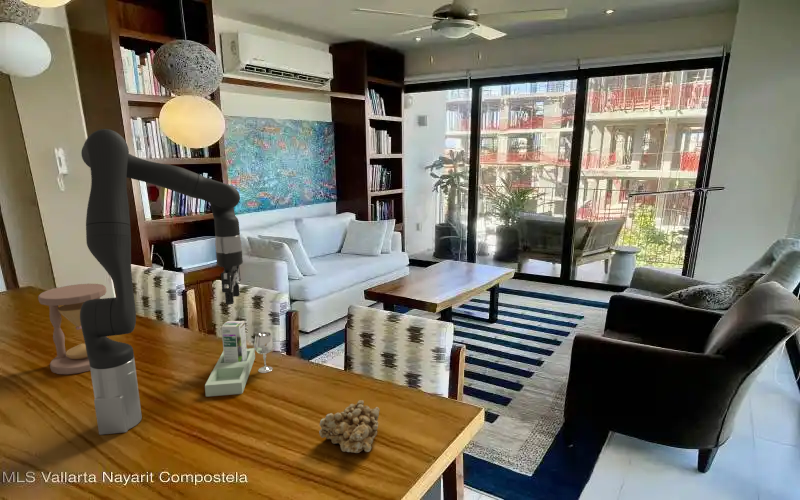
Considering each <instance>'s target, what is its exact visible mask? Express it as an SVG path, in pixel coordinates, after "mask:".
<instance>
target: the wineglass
mask: <svg viewBox="0 0 800 500" xmlns="http://www.w3.org/2000/svg"><path fill="white" fill-rule="evenodd" d="M253 345H254V346H253V348H255V353H256V352H257V354H259V355H262V358H263V362H264V365H263V366H262V367H259V369H258V372H259V373H262V374H266V373H270V372H271V371H273V369H274V368H273V367H272V366H268V365H267V360H266V359H267V354H269V353H270V352H272V351H273V348H274V338H273V336H272V334H271V332H269V331H261V332H258V333H256V334H255V337H254V344H253Z"/></svg>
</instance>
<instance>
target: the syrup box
mask: <svg viewBox="0 0 800 500" xmlns="http://www.w3.org/2000/svg"><path fill="white" fill-rule="evenodd" d="M221 335H222V336H221V339H222V349H223V351H224V363H229V362H243V361H247V349H248V347H247V338H246V336H247V335H246V323H245V320H228V321H226V322H224V323H223V324H222V326H221Z"/></svg>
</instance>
